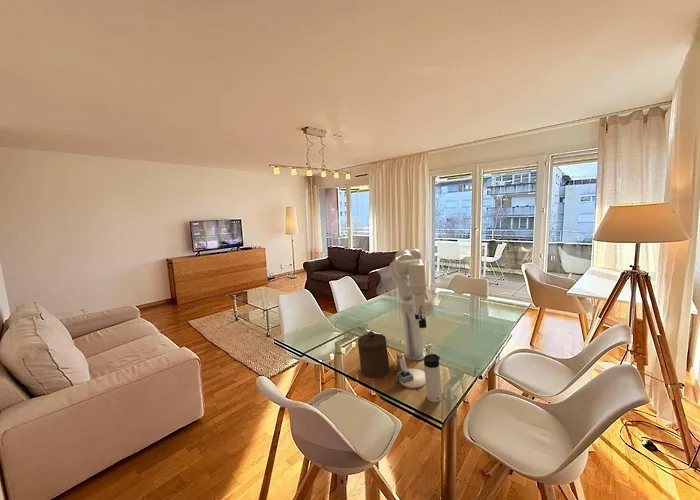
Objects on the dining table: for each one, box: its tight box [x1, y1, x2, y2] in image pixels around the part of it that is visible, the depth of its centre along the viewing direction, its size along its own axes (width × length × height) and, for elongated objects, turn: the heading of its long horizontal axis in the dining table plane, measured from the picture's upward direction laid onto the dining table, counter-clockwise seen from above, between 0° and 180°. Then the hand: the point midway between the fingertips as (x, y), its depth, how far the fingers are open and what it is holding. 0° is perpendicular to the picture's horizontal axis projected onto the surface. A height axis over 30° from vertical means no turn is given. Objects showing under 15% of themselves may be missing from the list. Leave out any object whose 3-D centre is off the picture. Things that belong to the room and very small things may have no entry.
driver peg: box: [396, 352, 409, 377], centre depth 134 cm, size 3×3×11 cm
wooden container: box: [357, 330, 390, 379], centre depth 145 cm, size 15×15×22 cm
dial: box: [396, 368, 426, 389], centre depth 134 cm, size 13×13×4 cm
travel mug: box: [423, 353, 443, 403], centre depth 119 cm, size 6×7×20 cm
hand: (420, 323), depth 135 cm, fingers open, 9 cm apart
